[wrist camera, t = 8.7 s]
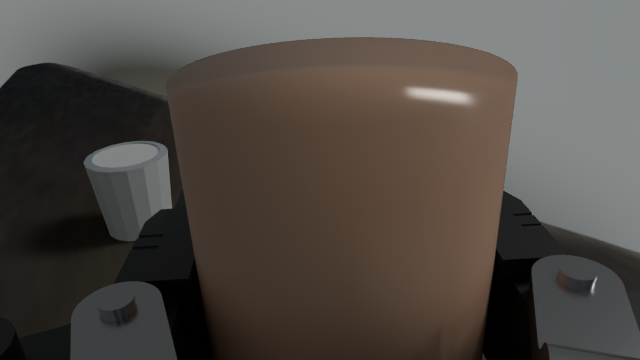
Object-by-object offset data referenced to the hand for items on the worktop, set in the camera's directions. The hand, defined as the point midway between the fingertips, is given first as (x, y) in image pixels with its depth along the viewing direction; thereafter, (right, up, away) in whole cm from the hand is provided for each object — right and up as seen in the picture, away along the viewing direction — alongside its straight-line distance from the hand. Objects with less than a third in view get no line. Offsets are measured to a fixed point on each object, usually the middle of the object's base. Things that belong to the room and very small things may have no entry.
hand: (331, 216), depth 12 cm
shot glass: (-17, -3, +36) cm, 40 cm away
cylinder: (0, -7, 0) cm, 7 cm away
